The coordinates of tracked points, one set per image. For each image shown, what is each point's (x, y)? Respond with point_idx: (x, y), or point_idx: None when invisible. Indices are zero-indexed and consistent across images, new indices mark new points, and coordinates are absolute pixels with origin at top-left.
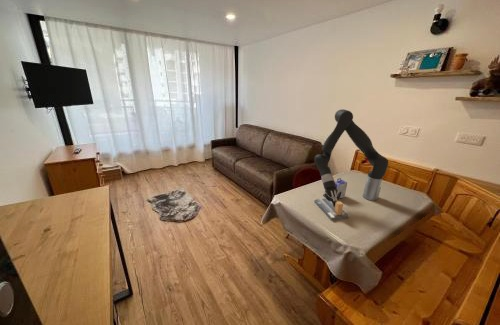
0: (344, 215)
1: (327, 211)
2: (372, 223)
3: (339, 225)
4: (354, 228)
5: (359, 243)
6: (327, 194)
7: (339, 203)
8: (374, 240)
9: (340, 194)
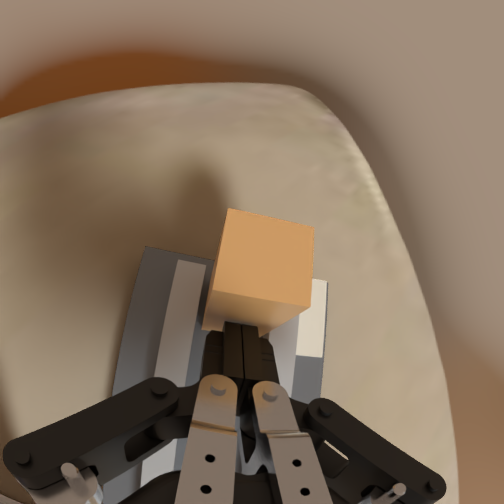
0: (184, 260)
1: (303, 379)
2: (61, 154)
3: None
4: (212, 162)
5: (283, 103)
6: (399, 492)
7: (283, 243)
8: (197, 86)
9: (56, 434)
